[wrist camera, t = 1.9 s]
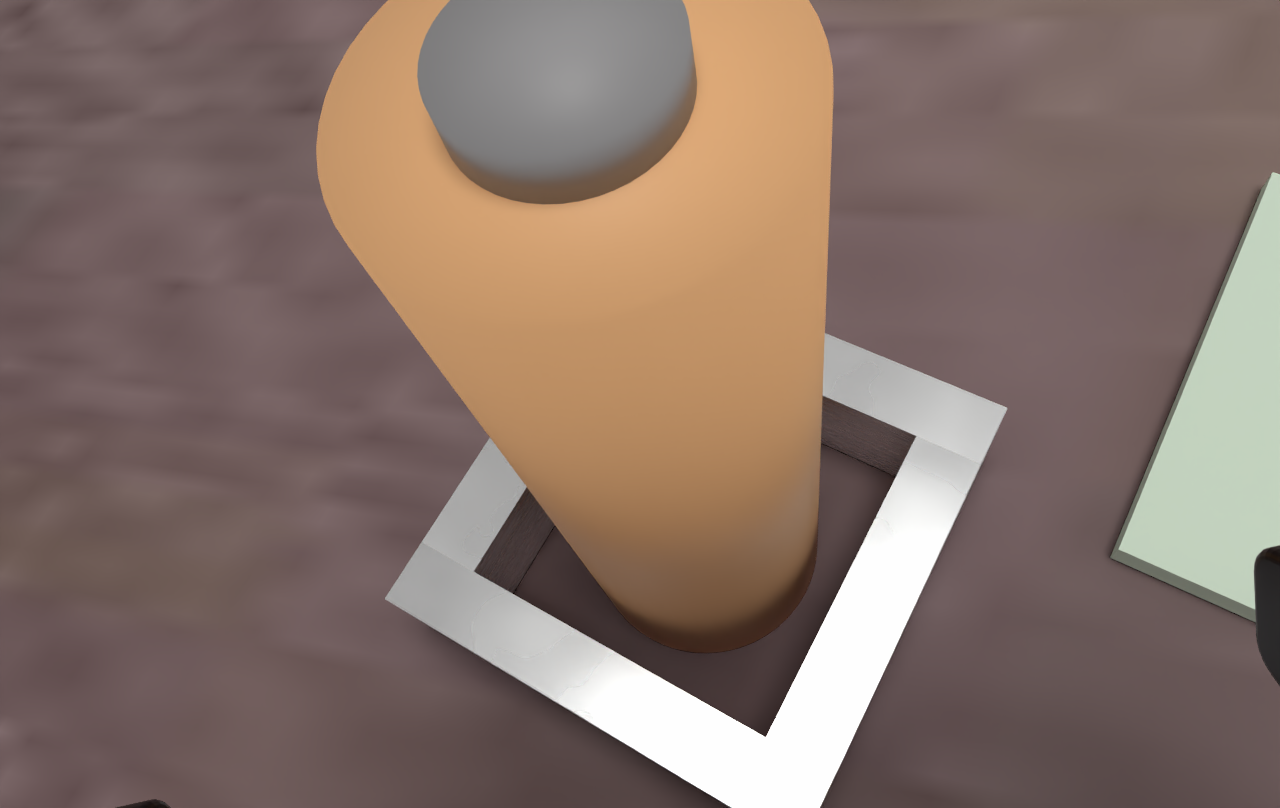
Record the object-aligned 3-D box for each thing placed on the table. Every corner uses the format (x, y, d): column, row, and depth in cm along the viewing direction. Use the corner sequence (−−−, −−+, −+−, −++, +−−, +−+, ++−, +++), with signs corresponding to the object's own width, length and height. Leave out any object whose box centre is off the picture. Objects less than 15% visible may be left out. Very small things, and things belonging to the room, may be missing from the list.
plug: (752, 695, 20) (655, 382, 7) (557, 587, 22) (179, 165, 9) (854, 495, 22) (930, -74, 8) (663, 407, 23) (479, -188, 10)
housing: (801, 850, 19) (799, 848, 17) (428, 626, 22) (384, 598, 20) (986, 455, 21) (1007, 407, 19) (632, 303, 24) (614, 247, 22)
